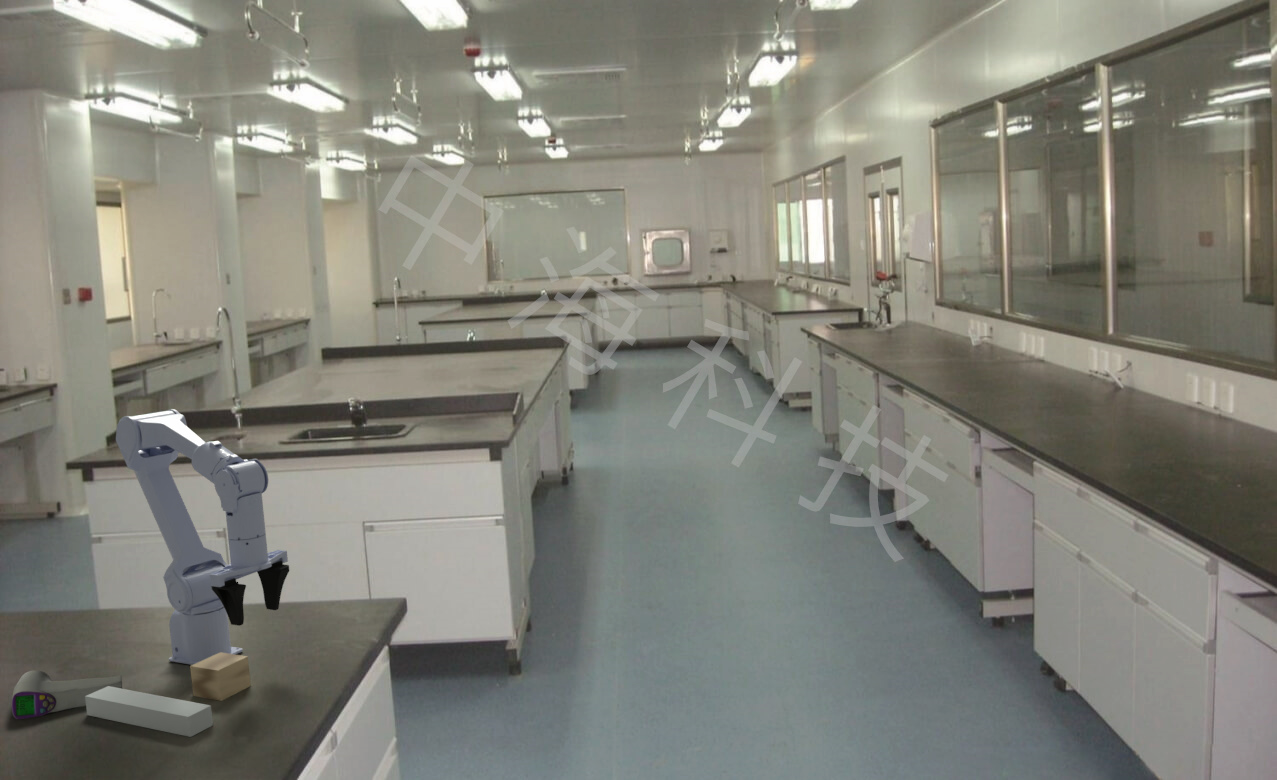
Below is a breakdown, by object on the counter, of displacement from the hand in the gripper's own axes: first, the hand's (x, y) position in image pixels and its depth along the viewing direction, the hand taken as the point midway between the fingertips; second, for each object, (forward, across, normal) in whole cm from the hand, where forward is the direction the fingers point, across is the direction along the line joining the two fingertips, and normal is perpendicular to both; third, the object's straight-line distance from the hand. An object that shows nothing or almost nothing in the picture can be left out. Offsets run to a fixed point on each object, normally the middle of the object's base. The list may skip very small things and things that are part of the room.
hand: (255, 616), depth 171 cm
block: (+10, -8, 0) cm, 12 cm away
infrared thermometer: (+10, -18, +22) cm, 30 cm away
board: (+9, -20, +2) cm, 22 cm away
